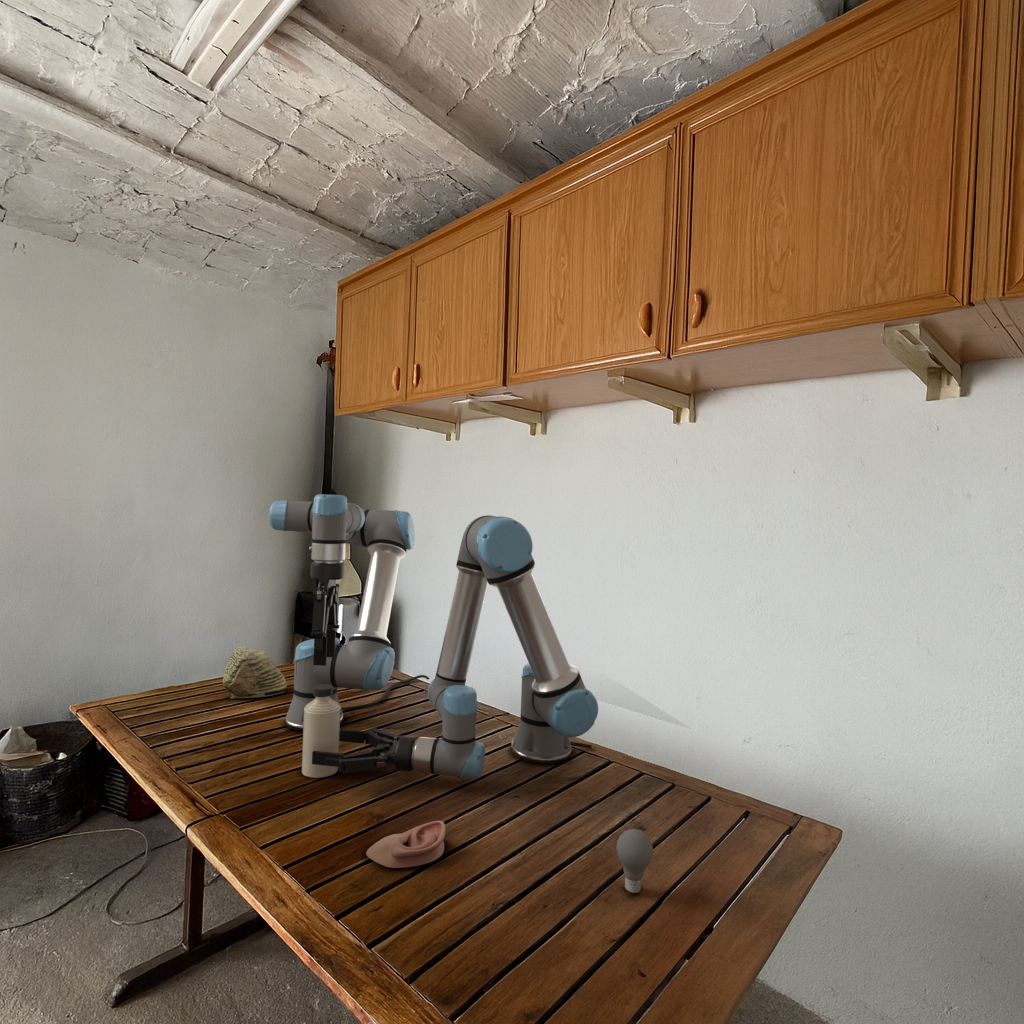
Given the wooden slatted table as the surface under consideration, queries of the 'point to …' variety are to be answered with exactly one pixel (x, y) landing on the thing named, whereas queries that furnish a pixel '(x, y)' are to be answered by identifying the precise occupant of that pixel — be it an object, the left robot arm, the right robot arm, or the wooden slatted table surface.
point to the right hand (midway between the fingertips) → (325, 745)
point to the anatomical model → (410, 846)
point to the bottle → (320, 734)
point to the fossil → (252, 674)
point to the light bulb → (634, 857)
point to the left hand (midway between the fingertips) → (324, 660)
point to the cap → (323, 690)
